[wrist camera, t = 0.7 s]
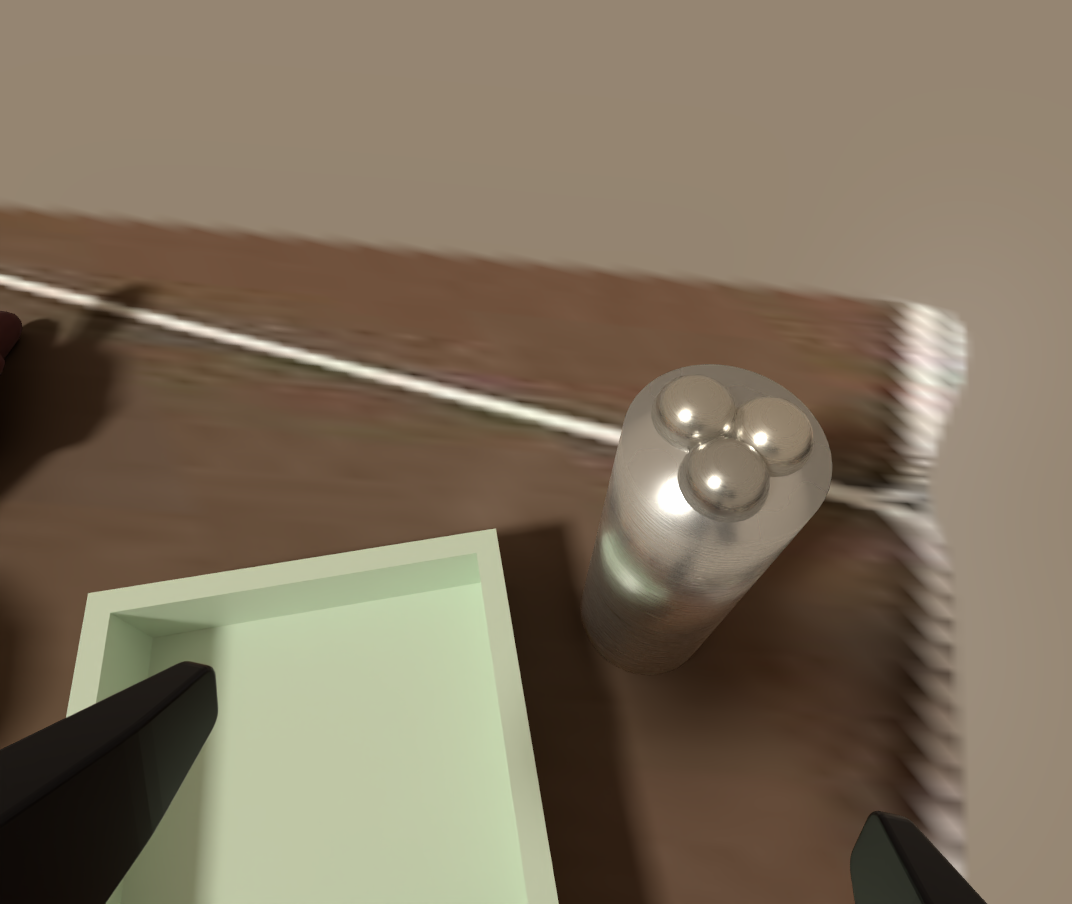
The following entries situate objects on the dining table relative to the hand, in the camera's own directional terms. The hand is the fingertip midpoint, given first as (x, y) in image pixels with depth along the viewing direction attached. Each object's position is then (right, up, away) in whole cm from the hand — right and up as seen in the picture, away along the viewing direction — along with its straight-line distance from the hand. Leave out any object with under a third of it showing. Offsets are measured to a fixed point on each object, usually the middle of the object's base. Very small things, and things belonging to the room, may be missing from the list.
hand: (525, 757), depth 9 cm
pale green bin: (-7, -7, +13) cm, 16 cm away
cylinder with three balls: (+4, -2, +16) cm, 17 cm away
